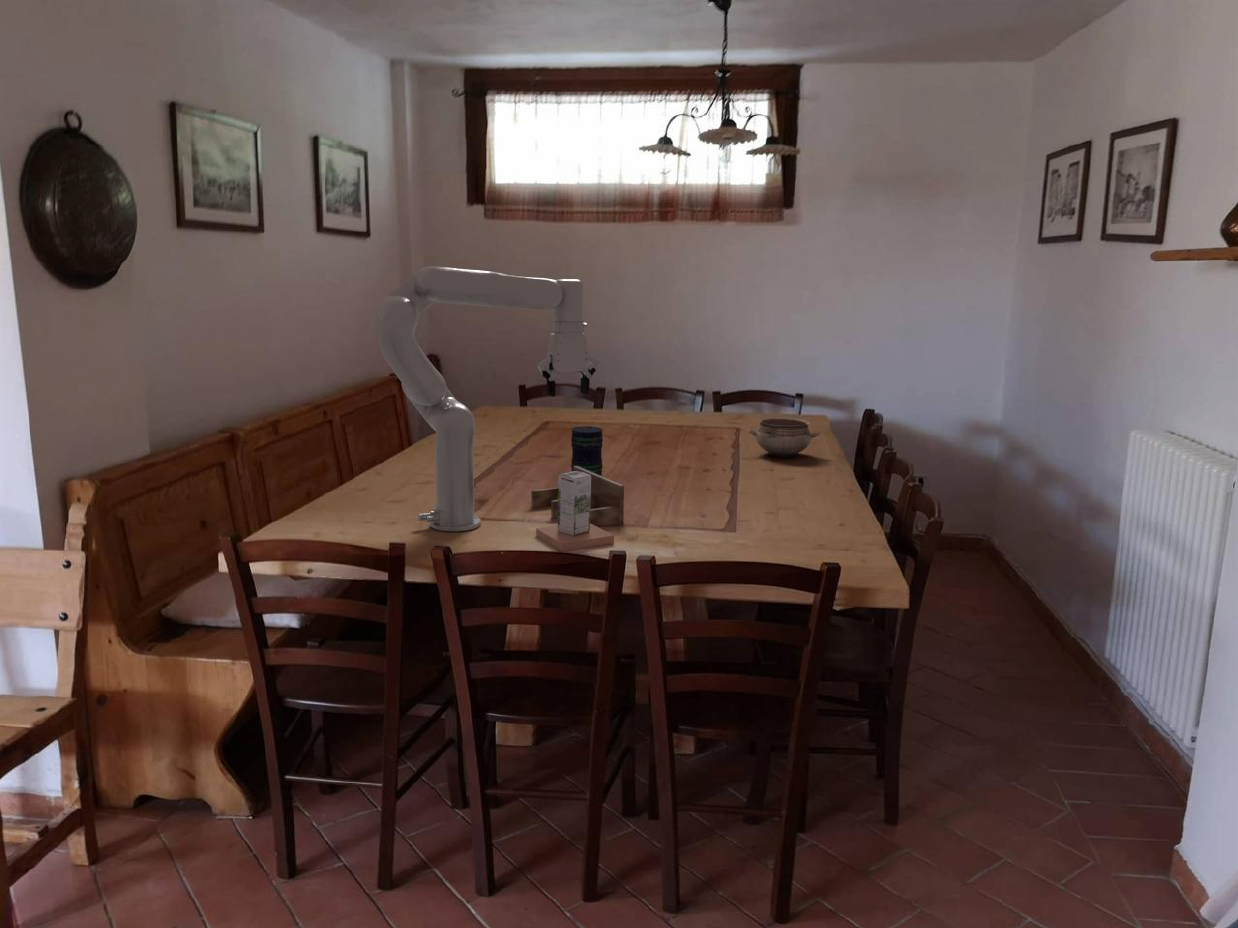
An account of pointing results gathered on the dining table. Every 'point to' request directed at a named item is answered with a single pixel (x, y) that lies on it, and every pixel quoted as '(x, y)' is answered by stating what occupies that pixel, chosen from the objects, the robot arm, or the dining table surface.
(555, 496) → the walnut rack
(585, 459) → the storage jar
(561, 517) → the syrup box
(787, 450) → the cooking pot
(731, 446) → the dining table surface
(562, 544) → the terracotta tile
